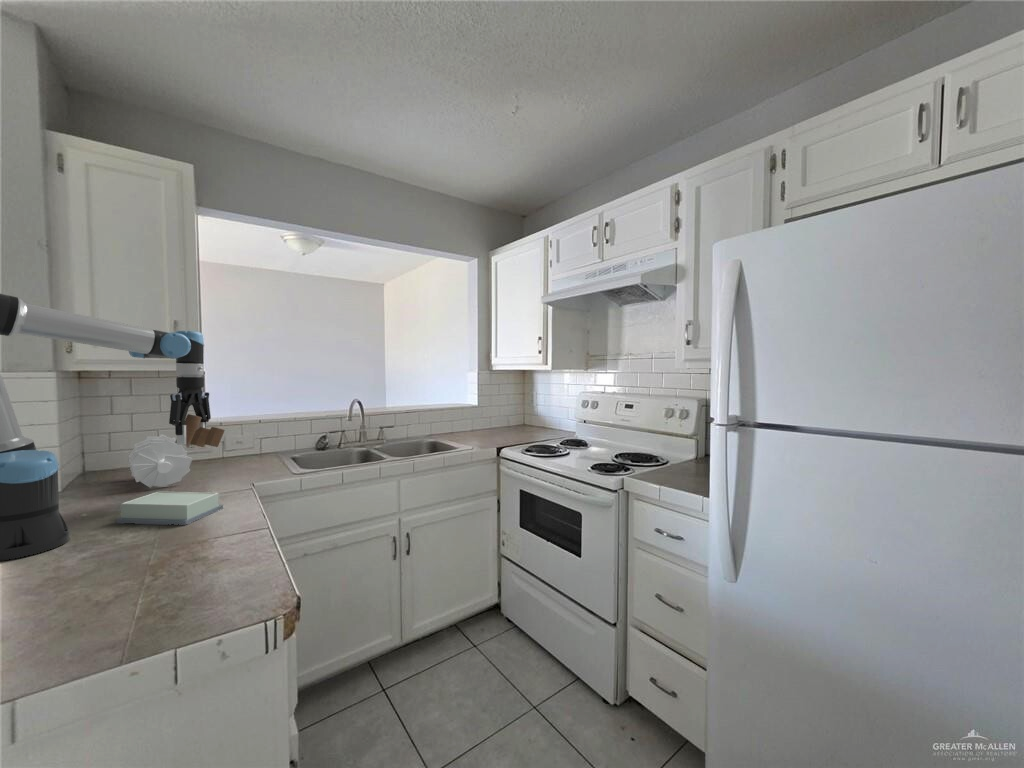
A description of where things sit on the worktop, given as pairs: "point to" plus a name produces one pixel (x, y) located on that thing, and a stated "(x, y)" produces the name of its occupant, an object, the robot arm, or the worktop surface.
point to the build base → (169, 508)
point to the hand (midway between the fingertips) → (191, 442)
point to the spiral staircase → (159, 461)
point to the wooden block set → (201, 433)
